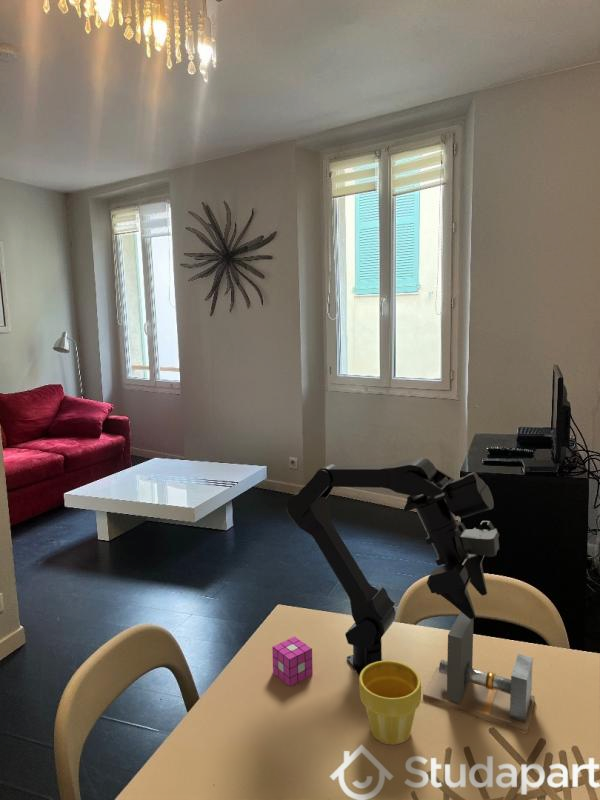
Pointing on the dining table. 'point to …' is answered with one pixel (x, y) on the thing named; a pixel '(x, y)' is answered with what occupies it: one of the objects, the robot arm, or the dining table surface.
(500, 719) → the clear base plate
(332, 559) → the robot arm
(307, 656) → the puzzle toy
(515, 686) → the metal rod with plate
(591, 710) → the dining table surface
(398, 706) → the yellow cup
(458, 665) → the grey flat slab
